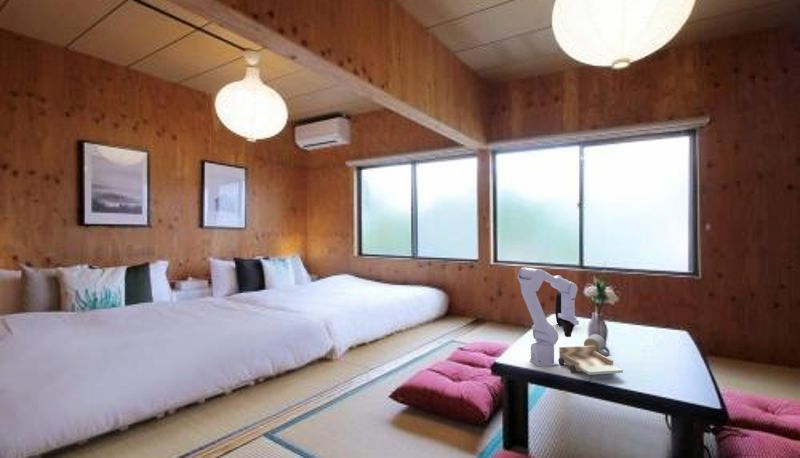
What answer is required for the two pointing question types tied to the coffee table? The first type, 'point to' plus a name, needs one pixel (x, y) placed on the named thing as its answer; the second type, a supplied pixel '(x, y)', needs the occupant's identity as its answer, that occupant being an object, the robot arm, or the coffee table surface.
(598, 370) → the tailgate
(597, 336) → the ceramic mug
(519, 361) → the coffee table surface
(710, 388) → the coffee table surface
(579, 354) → the wagon
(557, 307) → the portable speaker
